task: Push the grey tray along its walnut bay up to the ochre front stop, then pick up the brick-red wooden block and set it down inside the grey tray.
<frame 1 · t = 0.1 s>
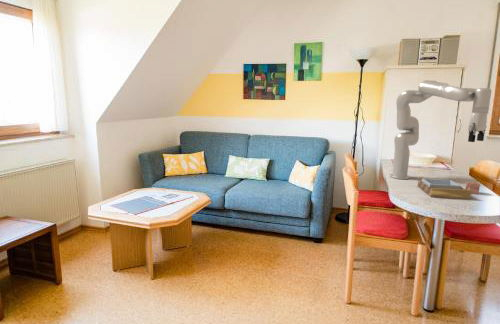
hand: (475, 141, 184), 31 cm above the table, tool pointing down, fingers open, 9 cm apart
grey tray: (440, 185, 194), point 3 cm above the table, slide at 0.0 cm
bay: (441, 192, 191), on the table
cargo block: (471, 192, 191), on the table
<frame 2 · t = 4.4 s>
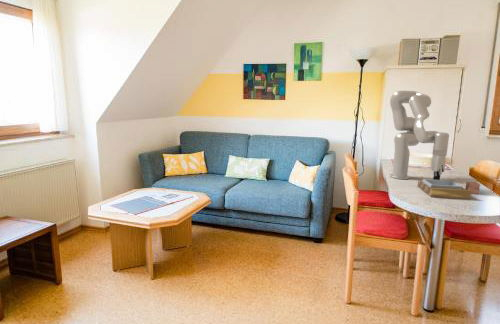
hand: (436, 181, 201), 4 cm above the table, tool pointing down, fingers closed
grey tray: (441, 186, 192), point 3 cm above the table, slide at 1.4 cm, touching gripper
everything else where it was.
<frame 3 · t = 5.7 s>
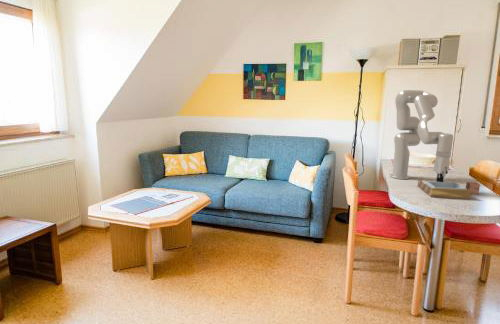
hand: (439, 184, 195), 4 cm above the table, tool pointing down, fingers closed
grey tray: (445, 188, 187), point 3 cm above the table, slide at 6.7 cm, touching gripper
everything else where it was.
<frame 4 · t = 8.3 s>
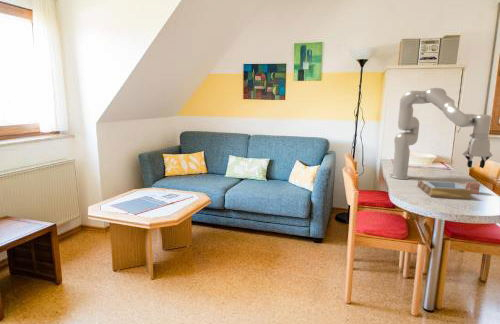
hand: (475, 167, 188), 16 cm above the table, tool pointing down, fingers open, 5 cm apart
grey tray: (444, 188, 187), point 3 cm above the table, slide at 6.5 cm
everything else where it was.
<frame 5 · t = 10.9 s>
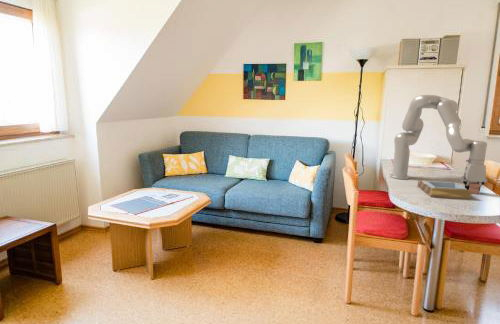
hand: (471, 191, 191), 0 cm above the table, tool pointing down, fingers closed on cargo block, 5 cm apart
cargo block: (471, 192, 191), on the table, touching gripper
everything else where it was.
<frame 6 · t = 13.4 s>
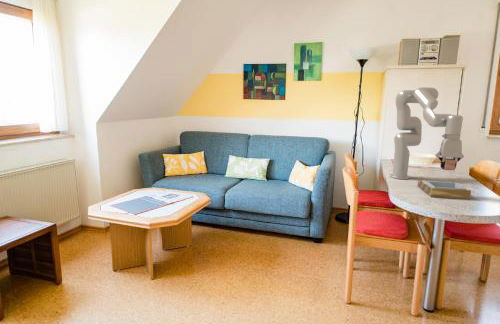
hand: (447, 168, 185), 15 cm above the table, tool pointing down, fingers closed on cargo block, 5 cm apart
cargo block: (447, 169, 185), point 15 cm above the table, touching gripper
everything else where it was.
when the fingers open (4 cm above the table, at t = 15.9 s): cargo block drops 2 cm, resting on grey tray.
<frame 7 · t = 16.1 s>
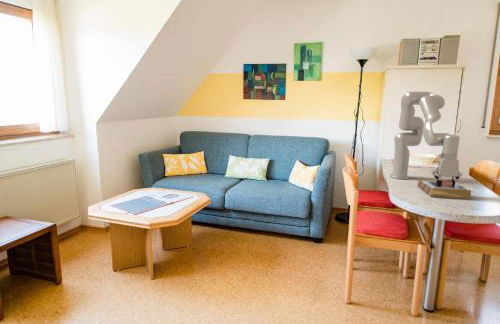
hand: (445, 186, 187), 4 cm above the table, tool pointing down, fingers open, 6 cm apart
grey tray: (444, 188, 187), point 3 cm above the table, slide at 6.5 cm, touching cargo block
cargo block: (444, 190, 188), point 2 cm above the table, touching grey tray
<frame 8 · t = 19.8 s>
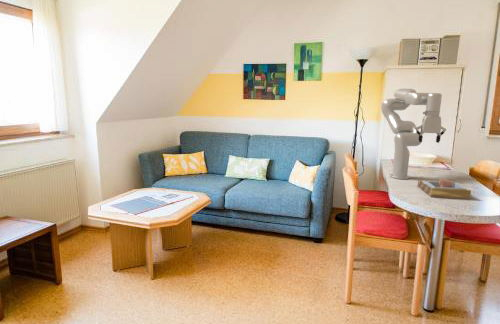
hand: (428, 142, 198), 28 cm above the table, tool pointing down, fingers open, 9 cm apart
nothing on the table moved.
at the end: grey tray slide at 6.5 cm; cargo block inside the target area (0.0 cm from its centre), point 2.1 cm above the table; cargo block tilted 0° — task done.
